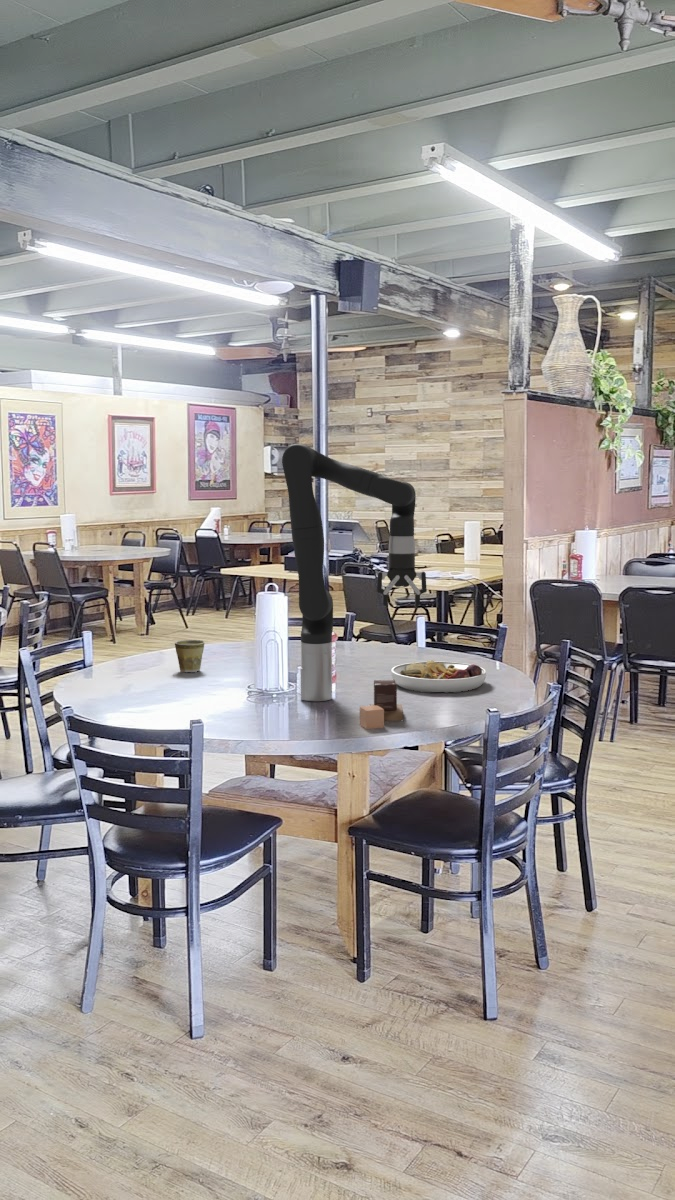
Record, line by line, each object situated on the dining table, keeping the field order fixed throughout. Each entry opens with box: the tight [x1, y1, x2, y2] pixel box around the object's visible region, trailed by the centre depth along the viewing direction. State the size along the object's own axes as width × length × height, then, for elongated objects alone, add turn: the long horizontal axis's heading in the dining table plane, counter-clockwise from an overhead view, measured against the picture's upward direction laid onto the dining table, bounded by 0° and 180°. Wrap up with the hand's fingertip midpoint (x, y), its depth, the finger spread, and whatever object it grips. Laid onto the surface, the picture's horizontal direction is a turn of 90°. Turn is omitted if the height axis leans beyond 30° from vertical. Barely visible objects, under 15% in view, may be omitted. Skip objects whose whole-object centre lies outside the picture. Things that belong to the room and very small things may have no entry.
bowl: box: [391, 660, 487, 693], centre depth 320 cm, size 30×30×8 cm
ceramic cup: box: [174, 639, 205, 673], centre depth 345 cm, size 13×10×10 cm
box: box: [373, 679, 398, 710], centre depth 277 cm, size 6×6×7 cm
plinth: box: [369, 704, 404, 722], centre depth 277 cm, size 9×9×3 cm
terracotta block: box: [359, 704, 385, 730], centre depth 267 cm, size 5×5×5 cm
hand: (401, 607), depth 292 cm, fingers open, 8 cm apart
